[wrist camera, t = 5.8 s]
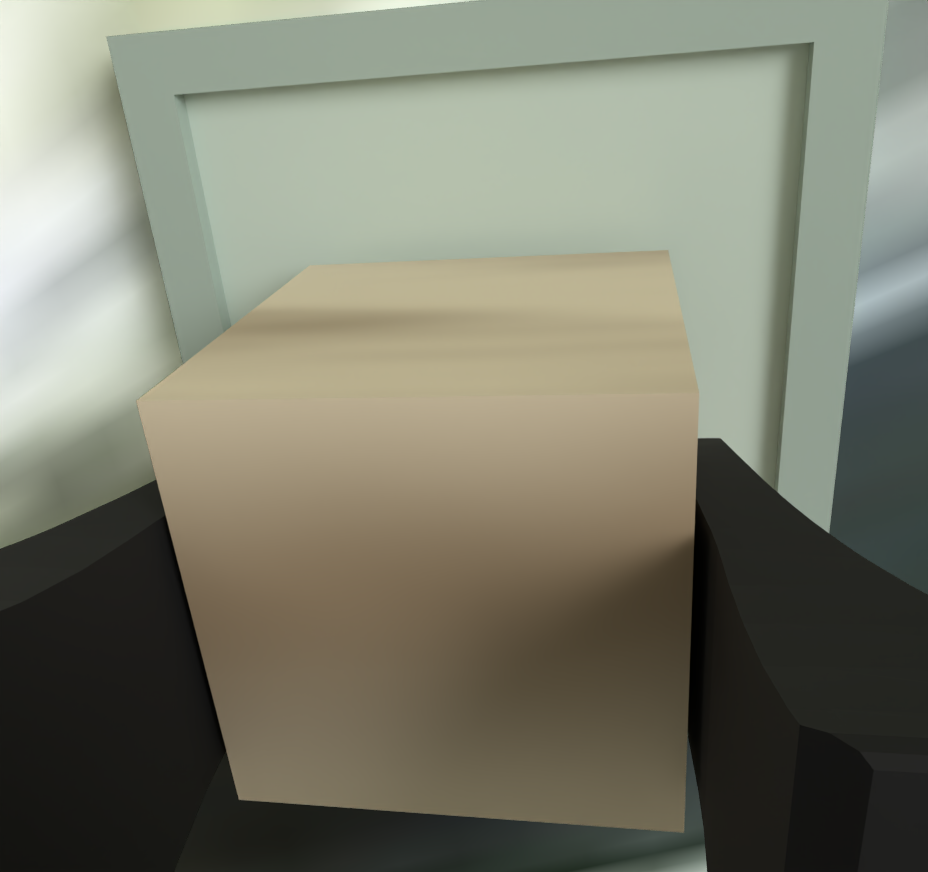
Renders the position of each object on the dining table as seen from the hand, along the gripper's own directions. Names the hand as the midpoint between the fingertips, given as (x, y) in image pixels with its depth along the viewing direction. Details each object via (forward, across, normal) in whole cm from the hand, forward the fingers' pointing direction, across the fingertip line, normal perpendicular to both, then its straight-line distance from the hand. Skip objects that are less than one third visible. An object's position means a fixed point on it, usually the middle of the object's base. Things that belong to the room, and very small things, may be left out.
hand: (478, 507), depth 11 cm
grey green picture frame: (+3, 0, 0) cm, 3 cm away
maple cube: (+2, 0, 0) cm, 2 cm away
